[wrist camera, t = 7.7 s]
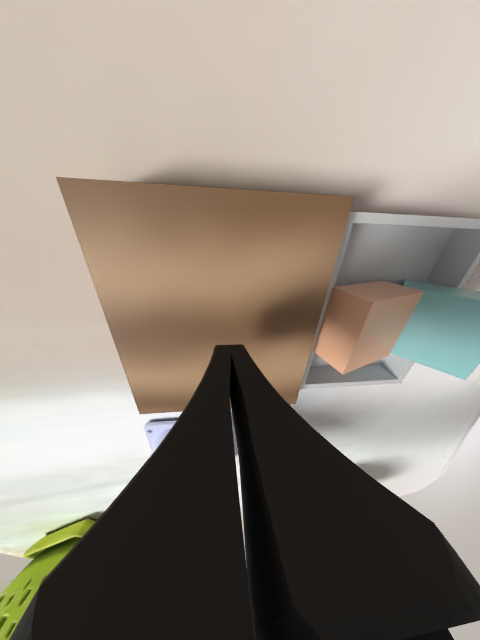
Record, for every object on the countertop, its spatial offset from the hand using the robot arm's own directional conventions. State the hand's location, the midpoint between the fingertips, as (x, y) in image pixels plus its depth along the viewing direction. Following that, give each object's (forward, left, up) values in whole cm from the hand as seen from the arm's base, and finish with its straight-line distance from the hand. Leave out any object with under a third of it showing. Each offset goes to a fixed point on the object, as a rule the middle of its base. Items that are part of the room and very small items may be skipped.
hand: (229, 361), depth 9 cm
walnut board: (0, 0, -6) cm, 6 cm away
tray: (0, -11, -6) cm, 12 cm away
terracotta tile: (0, -9, -4) cm, 10 cm away
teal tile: (0, -13, -2) cm, 14 cm away
